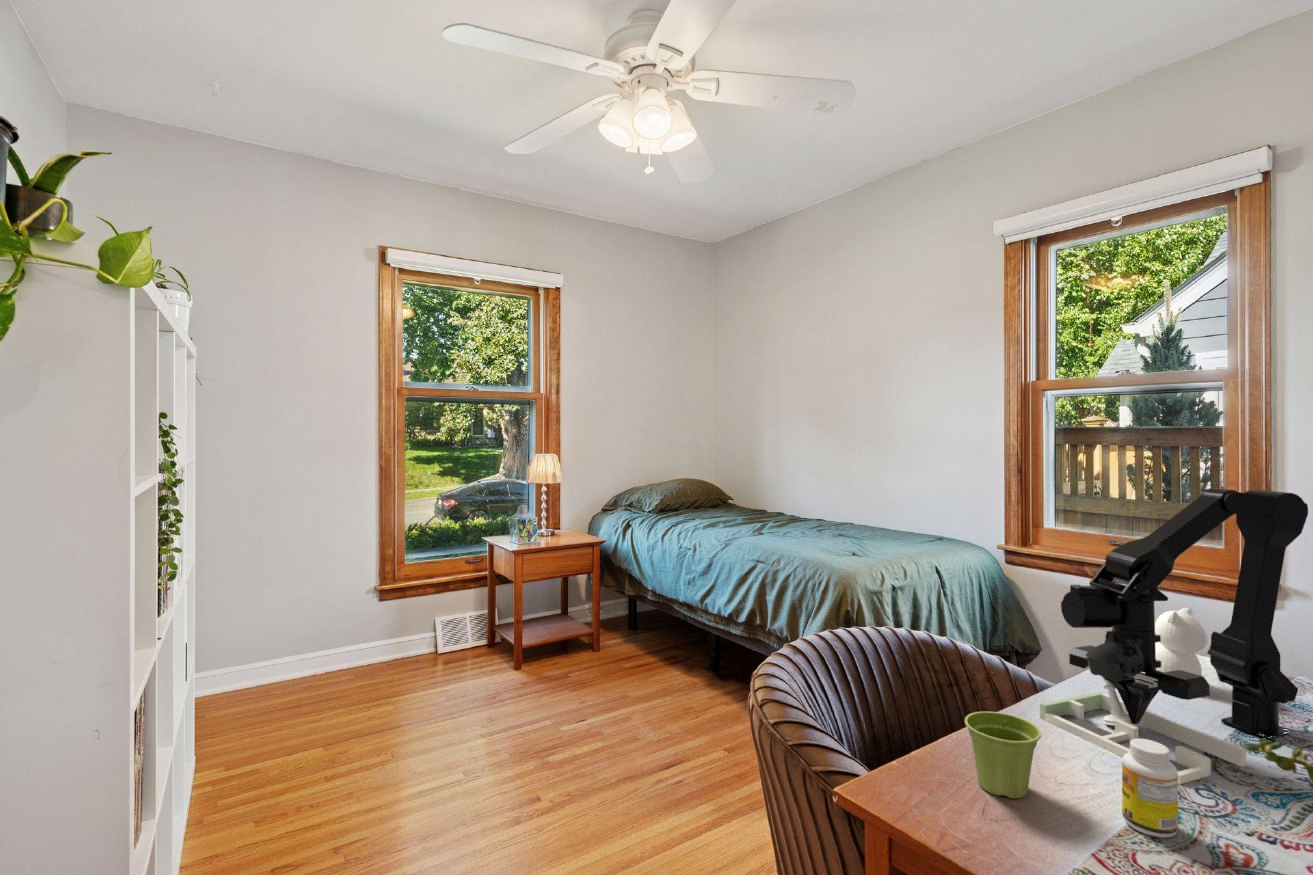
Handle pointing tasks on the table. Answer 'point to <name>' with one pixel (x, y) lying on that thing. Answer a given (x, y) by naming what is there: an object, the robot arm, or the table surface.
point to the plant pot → (1002, 751)
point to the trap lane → (1186, 760)
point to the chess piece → (1115, 707)
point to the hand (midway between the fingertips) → (1135, 723)
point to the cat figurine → (1179, 641)
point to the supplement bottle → (1149, 789)
